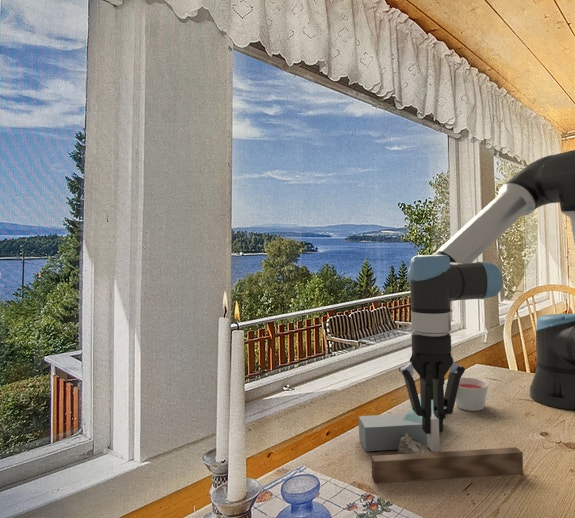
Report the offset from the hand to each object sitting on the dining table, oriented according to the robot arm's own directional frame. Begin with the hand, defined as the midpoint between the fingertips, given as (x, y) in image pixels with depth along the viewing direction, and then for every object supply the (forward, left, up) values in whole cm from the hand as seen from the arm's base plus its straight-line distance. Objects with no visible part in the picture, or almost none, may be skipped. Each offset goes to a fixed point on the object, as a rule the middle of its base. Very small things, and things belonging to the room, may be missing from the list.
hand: (433, 448), depth 86 cm
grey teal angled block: (+2, -11, -2) cm, 12 cm away
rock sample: (+3, +1, -2) cm, 4 cm away
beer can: (-10, -26, -2) cm, 28 cm away
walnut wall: (0, +6, -2) cm, 7 cm away
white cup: (-20, -25, -2) cm, 32 cm away
